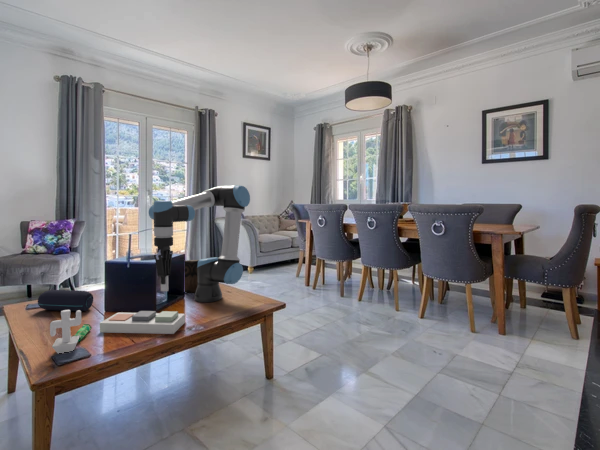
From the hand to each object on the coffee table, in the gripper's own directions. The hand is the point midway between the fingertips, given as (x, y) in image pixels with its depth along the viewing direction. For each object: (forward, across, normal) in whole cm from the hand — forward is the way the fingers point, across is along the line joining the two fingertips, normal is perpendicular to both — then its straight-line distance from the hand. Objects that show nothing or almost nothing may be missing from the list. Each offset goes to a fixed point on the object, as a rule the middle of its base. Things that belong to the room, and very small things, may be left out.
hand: (164, 290), depth 139 cm
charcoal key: (+13, 0, -9) cm, 16 cm away
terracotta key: (+15, 0, -19) cm, 24 cm away
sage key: (+13, 0, +1) cm, 13 cm away
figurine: (+16, +24, -26) cm, 39 cm away
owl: (+17, -58, -8) cm, 61 cm away
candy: (+17, +12, -29) cm, 35 cm away
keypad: (+16, 0, -9) cm, 19 cm away
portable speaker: (+17, -19, -59) cm, 64 cm away
